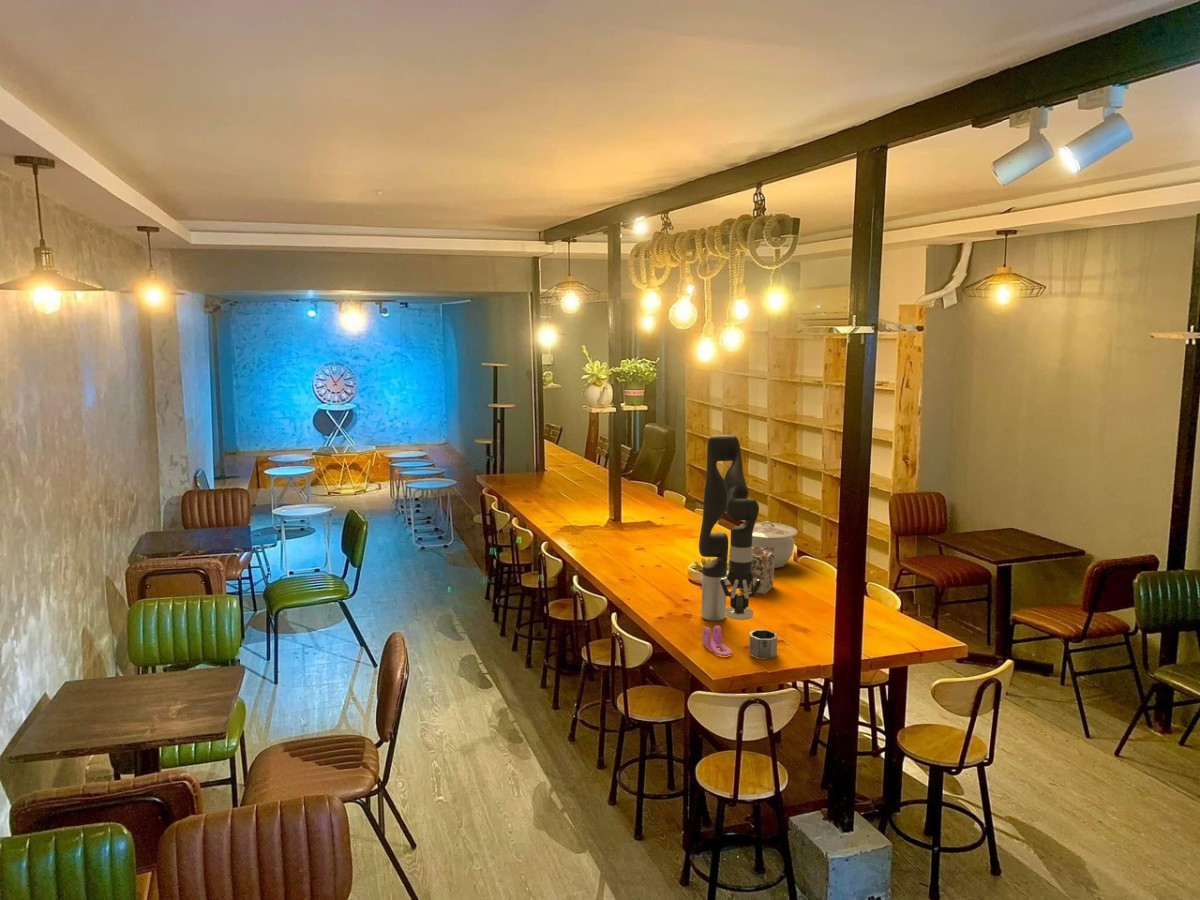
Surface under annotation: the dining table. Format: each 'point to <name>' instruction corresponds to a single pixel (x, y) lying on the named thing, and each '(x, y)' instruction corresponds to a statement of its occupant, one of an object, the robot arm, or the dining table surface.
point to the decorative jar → (762, 570)
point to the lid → (739, 609)
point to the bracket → (715, 641)
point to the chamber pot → (775, 540)
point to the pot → (763, 644)
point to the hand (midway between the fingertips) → (739, 607)
